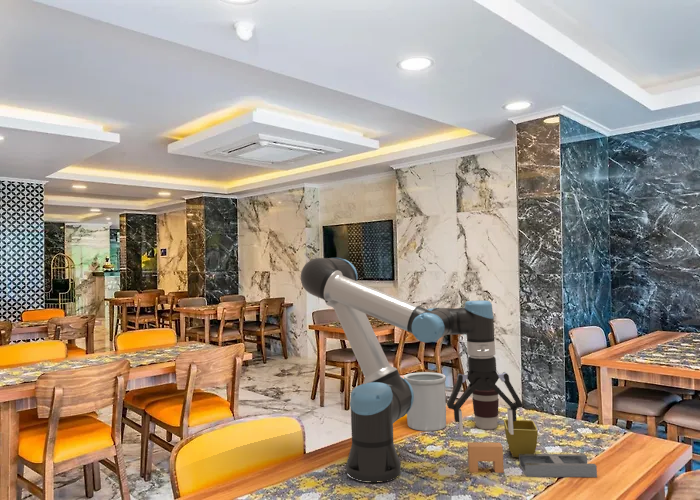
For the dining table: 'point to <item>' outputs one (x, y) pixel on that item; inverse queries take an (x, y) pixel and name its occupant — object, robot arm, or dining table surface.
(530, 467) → the rail
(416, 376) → the utensil holder
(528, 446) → the flower pot
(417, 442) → the dining table surface
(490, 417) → the coffee cup
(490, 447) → the brown notched block
